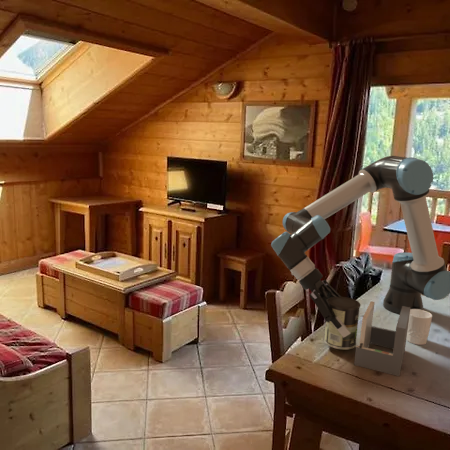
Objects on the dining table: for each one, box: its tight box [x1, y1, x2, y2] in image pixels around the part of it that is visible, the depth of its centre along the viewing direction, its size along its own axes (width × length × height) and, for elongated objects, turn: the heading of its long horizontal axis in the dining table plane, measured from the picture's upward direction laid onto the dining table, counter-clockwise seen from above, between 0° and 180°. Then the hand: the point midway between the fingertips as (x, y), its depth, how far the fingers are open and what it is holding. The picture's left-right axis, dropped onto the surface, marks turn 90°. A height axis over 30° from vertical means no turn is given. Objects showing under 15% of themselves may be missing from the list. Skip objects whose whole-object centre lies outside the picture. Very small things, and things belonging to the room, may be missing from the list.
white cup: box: [406, 309, 433, 346], centre depth 156 cm, size 8×8×10 cm
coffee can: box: [323, 296, 361, 351], centre depth 148 cm, size 10×10×14 cm
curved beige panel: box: [358, 300, 375, 348], centre depth 144 cm, size 1×18×14 cm, turn 154°
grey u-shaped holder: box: [354, 306, 410, 377], centre depth 143 cm, size 13×18×15 cm
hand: (350, 328), depth 147 cm, fingers closed on coffee can, 10 cm apart
